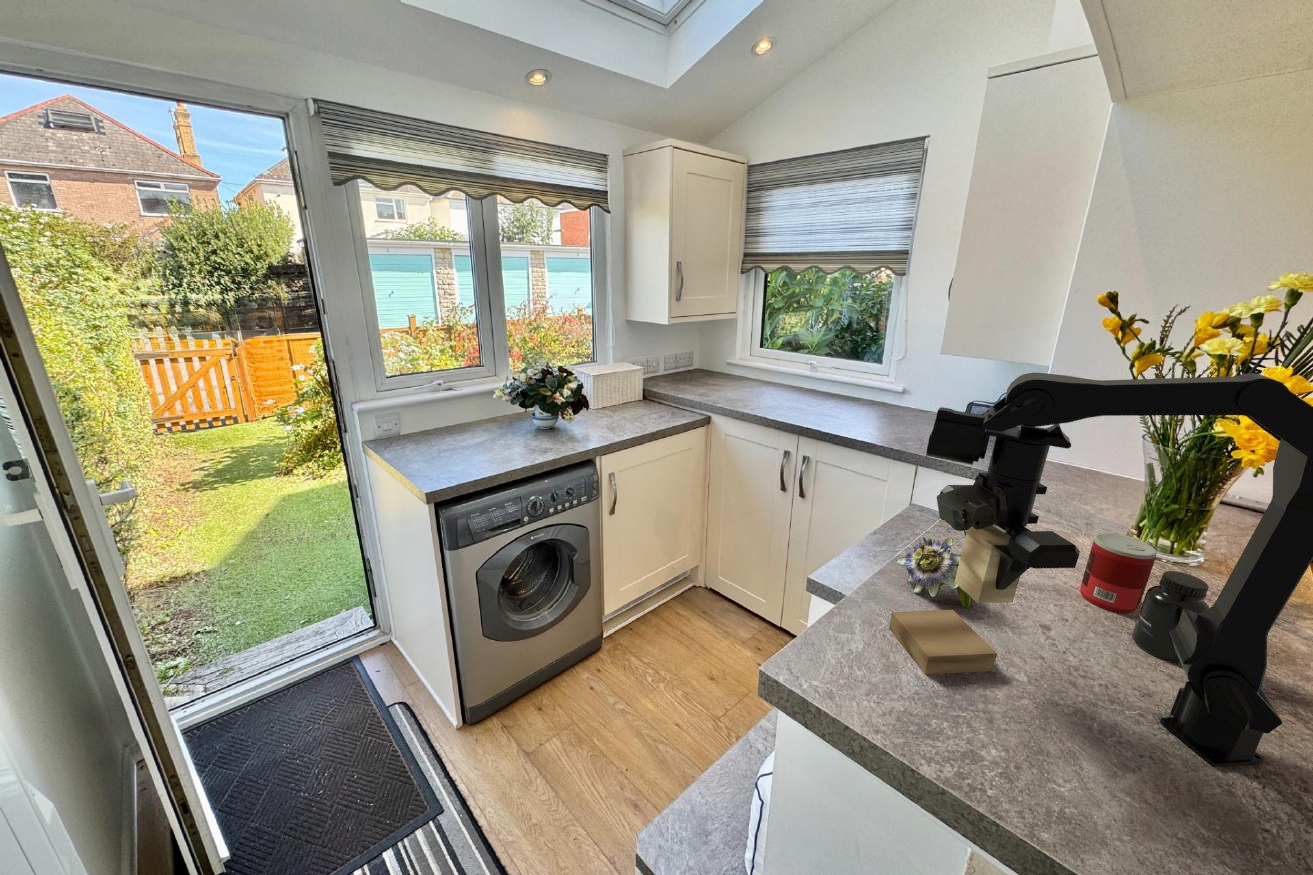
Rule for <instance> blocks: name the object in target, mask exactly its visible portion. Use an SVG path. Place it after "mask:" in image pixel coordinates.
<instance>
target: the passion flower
mask: <svg viewBox="0 0 1313 875" xmlns="http://www.w3.org/2000/svg"><path fill="white" fill-rule="evenodd" d="M922 540H923V543H922V542H921V541H919V542H918V544H917V543H915V546H912V548H913V549H914V550H913V551H912V552H907V553H906V555H905V556H904V557H899V558H896V559H895V562H896V563H897V564H898V565H900V566H904V567H906V571H907V572H908V577H907V580H906V582H907V583H910V584H914V585H915V586H914V588H913V594H916V595H917V594H918V595H919V594H921V593H923V592H924V591H925V589H926V588H927V590H928V594H929V596H930V597H931V598H935V597H937V596H938V595H939V594H940V592H941V590H942V587H943V585H945V586H947V587H949V588H951V589H953V590H956V589H957V593H958V597H959V600H960V603H961V606H962V607H965V608H967V609H968V608H969V607H970V606H971V601H972V597H971V596H969V595H968V594H967V593H966V592H965V591H964V590H963V589H962V588H961V587H960V586H959V585H958V584H956V583H955V578H956V574H957V570H958V566H959V562H960V558H961V553H953V552H951V550H952V547H953V545H954V544H953V543H954V539H953V538H952V536H947V537H945V538H944V539H943V540H941V541H940V540H939V539H938V540H937V539H936V540H935V539H933V538H932V537H928V538H926V537H925V536H923V537H922ZM975 603H976V604H978V603H977V602H976V601H975Z"/></svg>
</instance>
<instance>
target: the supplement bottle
mask: <svg viewBox="0 0 1313 875" xmlns="http://www.w3.org/2000/svg"><path fill="white" fill-rule="evenodd" d="M1158 584H1159V585H1152V586H1151V587H1149V588H1148V589H1147V591H1146V593H1145V595H1144V598H1143V601H1142V604H1141V606H1140V609H1139V612H1138V615H1137V618H1136V619H1135V620H1136V621H1135V623H1134V627H1133V629H1132V632H1131V638H1132V640H1133V642H1134V643H1135V645H1137V647H1139V648H1140V649H1142V650H1143V651H1144V652H1146V653H1148V654H1150V655H1152V656H1154V657H1156V658H1159V659H1162V660H1164V661H1169V662H1173V663H1174V662H1175V663H1181V662H1180V660H1179V658H1178V655H1177V653H1176V651H1175V648H1174V644H1173V643H1174V642H1173V640H1172V638H1171V635H1170V633H1169V632H1170V631H1171V630H1173V629H1174V628H1175V627H1176V626H1177V625H1178V624H1179V621H1180V618H1181V613H1182V611H1183V609H1188V610H1190V611H1192V612H1195V613H1197V614H1199V613H1201V612H1203V611H1205V610H1207V609H1209V608H1210V606H1209V604H1208V603H1207V602H1206V601H1205V600H1206V598H1207V596H1208V594H1207V593H1208V590H1209V589H1210V588H1209V584H1208V583H1207V582H1206V581H1205V580H1203V579H1201V578H1199V577H1197V576H1195V575H1192V574H1189V573H1186V572H1182V571H1178V570H1177V571H1175V570H1167V571H1164V572H1163V574H1162V575H1161V579H1160V580H1159V583H1158Z"/></svg>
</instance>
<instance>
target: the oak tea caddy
mask: <svg viewBox="0 0 1313 875" xmlns="http://www.w3.org/2000/svg"><path fill="white" fill-rule="evenodd" d="M965 532H966V537H965V536H964V540H963V541H964V542H963V546H962V550H961V553H960V554H961V558H960V562H959V566H958V570H957V574H956V578H955V583H956V584H958V585H959V586H960V587H961V588H962V589H963V590H964V591H965V592H966V593H967V594H968V595H969V596H971V599H973V600H974V601H975V603H976V602H977V603H976V604H995V603H996V604H999V603H1001V604H1003V603H1004V604H1005V603H1013V602H1014V599H1015V596H1016V592H1017V589H1018V585H1019V583H1020V578H1021V576H1020V577H1018V578H1017V579H1016V580H1015V581H1014V582H1013V583H1012V584H1011V585H1009V586H1008V587H1007V588H1006V589H1005V590H997V589H996V577H997V572H998V567H999V562H1000V557H1001V556H1000V554H999V552H998V551H997V550H996V549H995V547H994V545H1008V543H1009V540H1010V538H1011V536H1009V535H1008V534H1006V533H1004V532H1002V531H1001V530H999V529H998V528H996V527H995V526H988V527H985V528H982V529H979V530H976V529H974V528H973V527H970V529H968V530H965Z"/></svg>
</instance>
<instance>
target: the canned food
mask: <svg viewBox="0 0 1313 875" xmlns="http://www.w3.org/2000/svg"><path fill="white" fill-rule="evenodd" d="M1157 553H1158V552H1157V550H1156V548H1155V547H1153V546H1151V545H1150V544H1148V543H1146V542H1144V541H1142V540H1139V539H1136V538H1132V537H1130V536H1126V535H1121V534H1117V533H1115V534H1114V533H1098V534H1096V535H1095V537H1094V539H1093V542H1092V545H1091V549H1090V551H1089V555H1088V558H1087V563H1086V566H1085V569H1084V573H1083V577H1082V580H1081V582H1080V583H1081V584H1080V587H1079V589H1080V590H1079V591H1080V595H1081V596H1082V598H1084V599H1085V600H1086V601H1087V602H1089V603H1090V604H1092V605H1094V606H1096V607H1098V608H1102V609H1104V610H1107V611H1111V612H1115V613H1120V614H1122V613H1123V614H1130V613H1131V614H1132V613H1135V612H1136V611H1137V609H1138V608H1139V607H1141V606H1140V605H1141V602H1142V600H1143V596H1144V594H1145V591H1146V588H1147V585H1148V581H1149V578H1150V577H1151V576H1150V575H1151V572H1152V571H1153V567H1154V564H1155V561H1156V558H1157Z"/></svg>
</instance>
